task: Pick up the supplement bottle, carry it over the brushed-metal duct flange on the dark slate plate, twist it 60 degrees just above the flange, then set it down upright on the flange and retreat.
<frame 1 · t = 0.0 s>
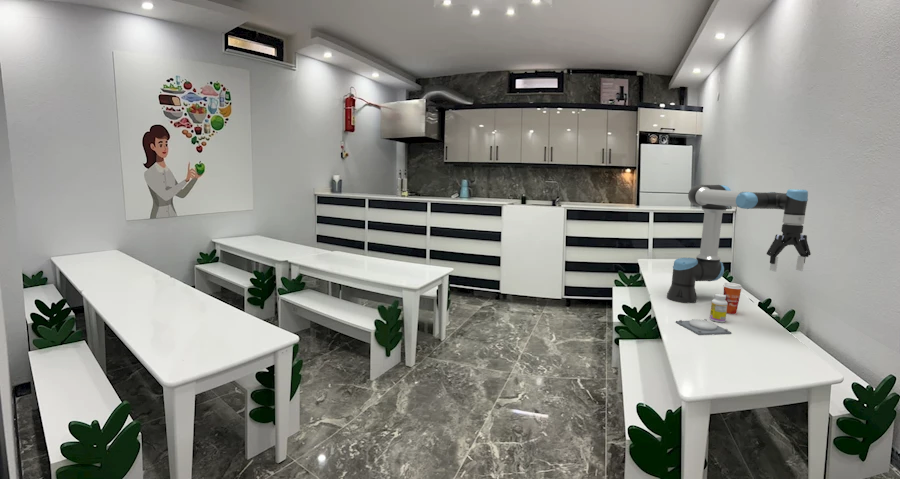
hand: (786, 270, 199), 28 cm above the table, fingers open, 13 cm apart
flange: (702, 328, 203), on the table
coffee cup: (729, 312, 227), on the table
supplement bottle: (717, 320, 214), on the table
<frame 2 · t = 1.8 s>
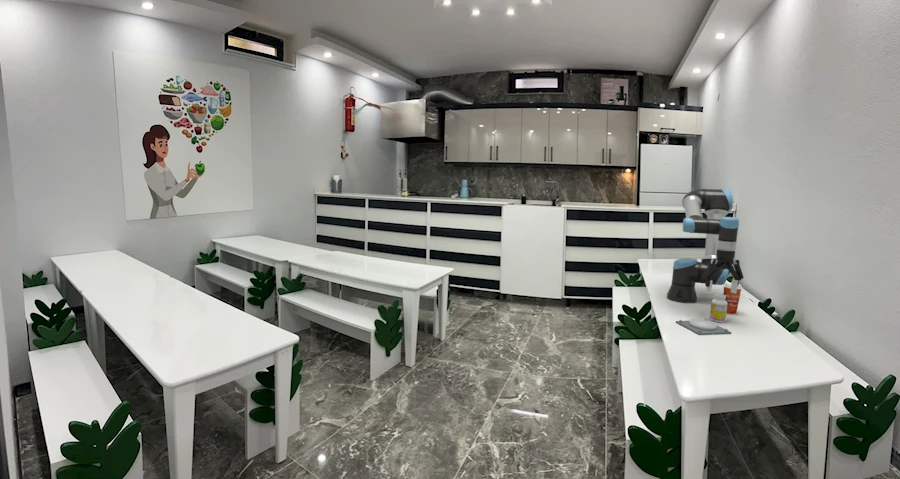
hand: (720, 293, 212), 14 cm above the table, fingers open, 13 cm apart
nothing on the table moved.
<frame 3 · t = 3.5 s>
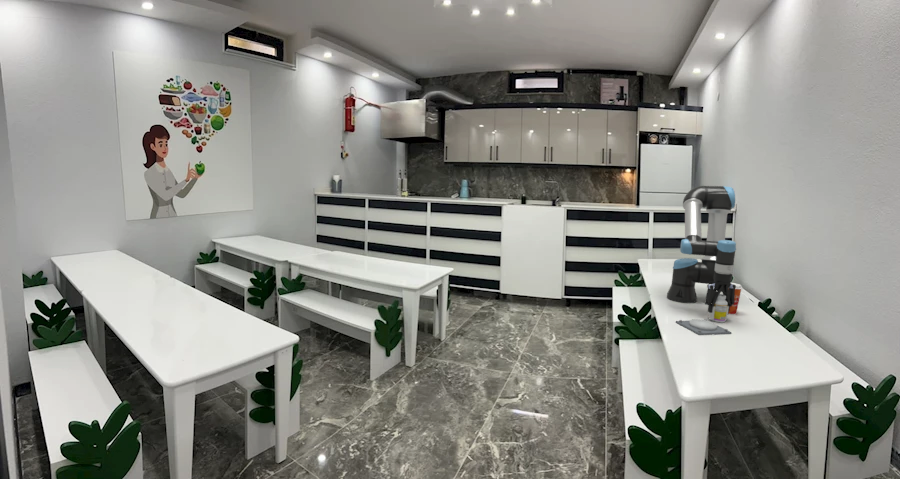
hand: (717, 318, 214), 1 cm above the table, fingers closed on supplement bottle, 7 cm apart
supplement bottle: (717, 320, 214), on the table, touching gripper
everything else where it was.
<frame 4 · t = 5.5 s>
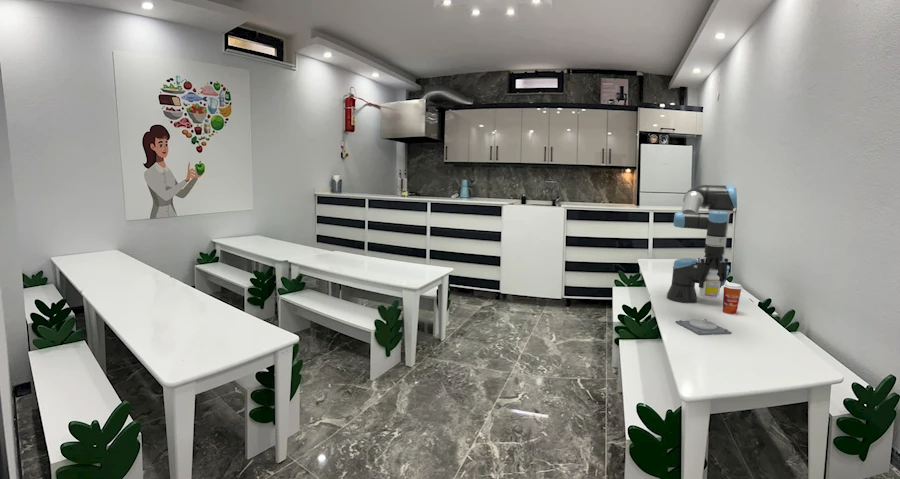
hand: (709, 294, 202), 16 cm above the table, fingers closed on supplement bottle, 7 cm apart
supplement bottle: (708, 297, 202), point 14 cm above the table, touching gripper
everything else where it was.
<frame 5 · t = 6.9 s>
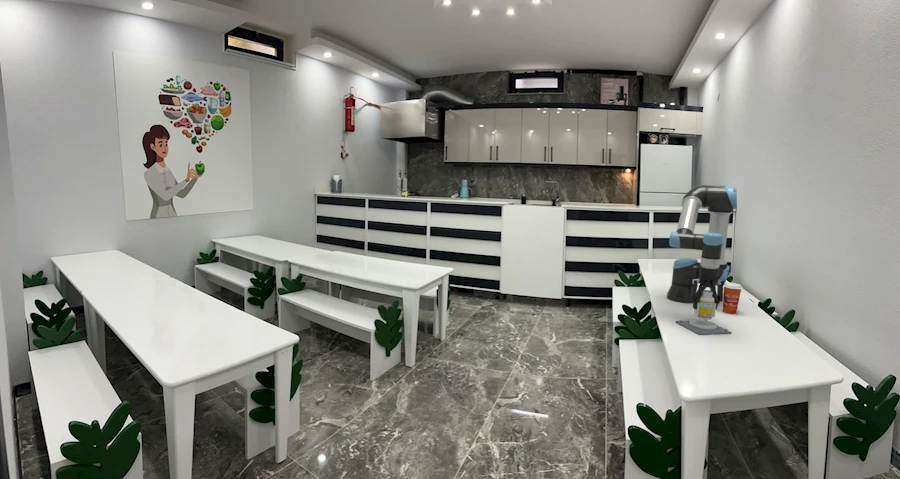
hand: (703, 315, 202), 6 cm above the table, fingers closed on supplement bottle, 7 cm apart
supplement bottle: (703, 318, 203), point 5 cm above the table, touching gripper
everything else where it was.
when the fingers open (4 cm above the table, at t = 7.9 s): supplement bottle stays where it is, resting on flange.
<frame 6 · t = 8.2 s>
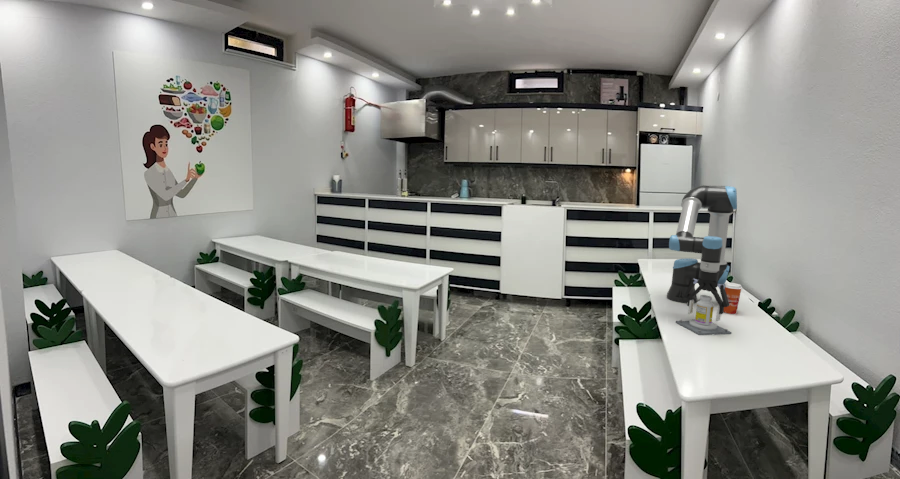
hand: (703, 316, 203), 5 cm above the table, fingers open, 11 cm apart
supplement bottle: (702, 323, 203), point 2 cm above the table, touching flange
everything else where it was.
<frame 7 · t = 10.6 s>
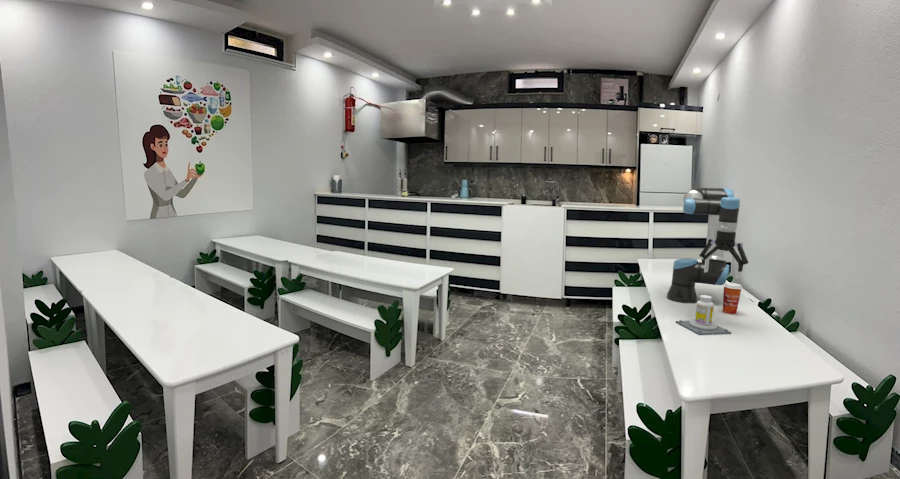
hand: (721, 275, 208), 23 cm above the table, fingers open, 13 cm apart
nothing on the table moved.
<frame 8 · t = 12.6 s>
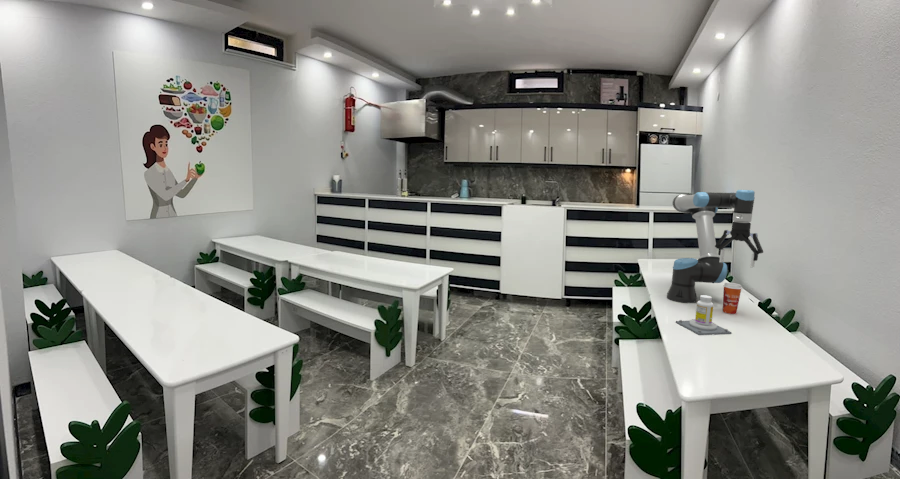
hand: (736, 264, 217), 27 cm above the table, fingers open, 13 cm apart
nothing on the table moved.
at the end: supplement bottle inside the target area on the flange (0.0 cm from its centre), point 2.1 cm above the flange's base; supplement bottle tilted 0°; the gripper is holding nothing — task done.
